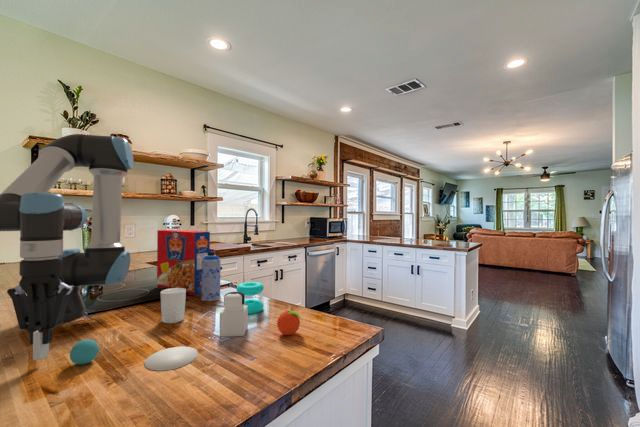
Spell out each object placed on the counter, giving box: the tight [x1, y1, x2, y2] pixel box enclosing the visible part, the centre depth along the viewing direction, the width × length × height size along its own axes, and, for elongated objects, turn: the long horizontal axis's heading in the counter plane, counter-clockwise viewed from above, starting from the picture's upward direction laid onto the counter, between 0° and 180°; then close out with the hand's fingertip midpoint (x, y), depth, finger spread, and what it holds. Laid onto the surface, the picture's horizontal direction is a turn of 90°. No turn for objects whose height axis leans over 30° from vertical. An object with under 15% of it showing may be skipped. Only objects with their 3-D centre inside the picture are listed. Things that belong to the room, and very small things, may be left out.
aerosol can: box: [200, 250, 222, 302], centre depth 126 cm, size 8×8×20 cm
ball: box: [69, 338, 100, 365], centre depth 71 cm, size 6×6×6 cm
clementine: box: [276, 310, 303, 336], centre depth 89 cm, size 8×7×7 cm
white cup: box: [160, 288, 187, 324], centre depth 101 cm, size 8×8×10 cm
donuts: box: [236, 281, 265, 315], centre depth 111 cm, size 10×10×10 cm
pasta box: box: [156, 229, 211, 297], centre depth 141 cm, size 28×8×28 cm, turn 60°
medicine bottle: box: [219, 291, 249, 338], centre depth 91 cm, size 7×7×12 cm
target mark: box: [144, 346, 199, 372], centre depth 74 cm, size 12×12×1 cm
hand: (41, 357), depth 70 cm, fingers closed
